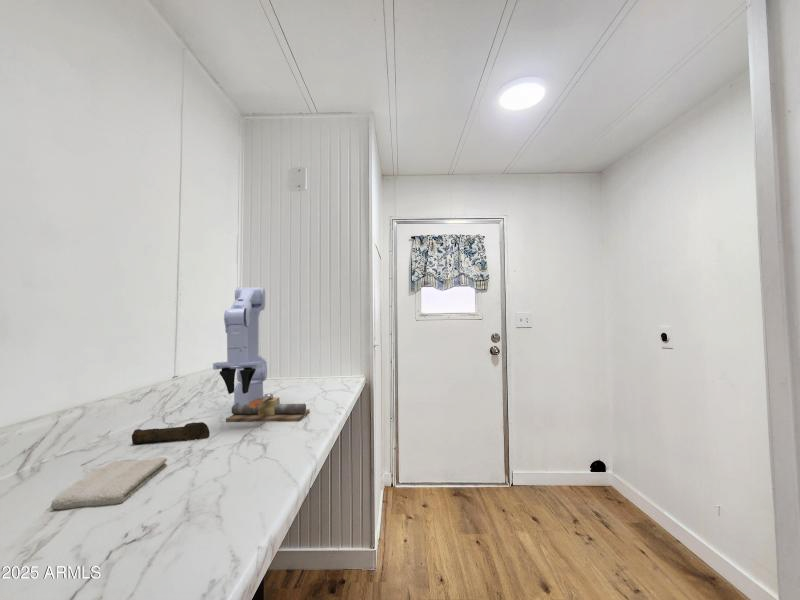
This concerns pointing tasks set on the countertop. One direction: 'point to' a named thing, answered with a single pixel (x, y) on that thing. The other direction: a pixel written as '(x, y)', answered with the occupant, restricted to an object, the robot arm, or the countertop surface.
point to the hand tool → (172, 433)
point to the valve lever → (259, 401)
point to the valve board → (267, 418)
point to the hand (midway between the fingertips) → (238, 392)
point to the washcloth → (109, 483)
